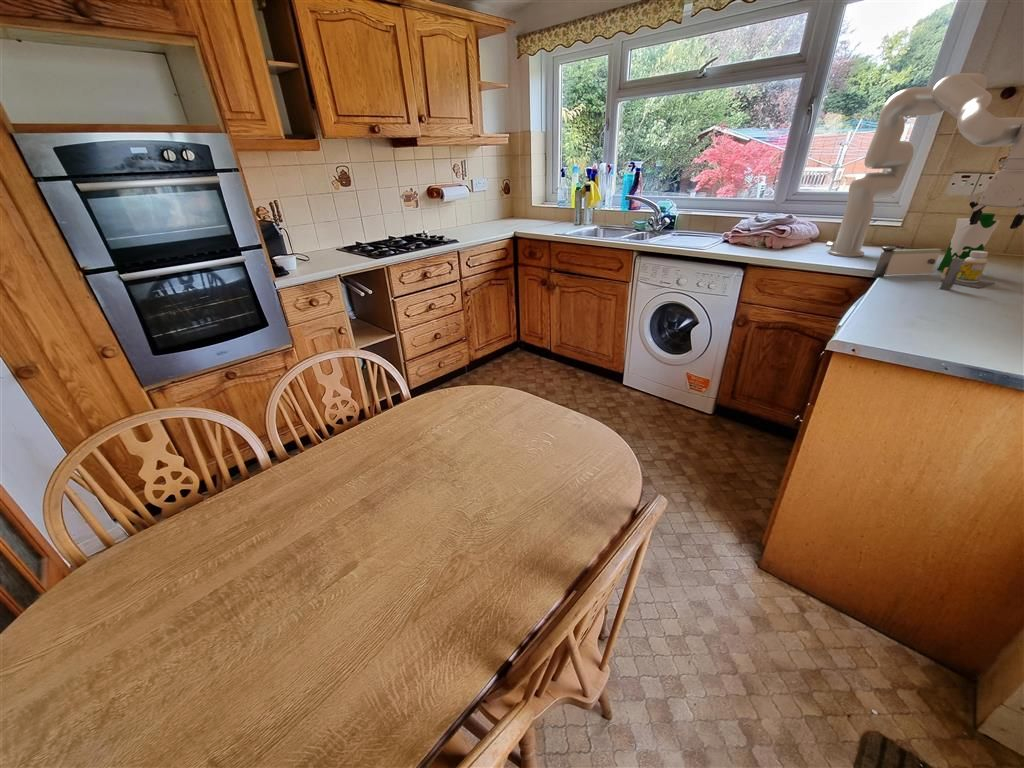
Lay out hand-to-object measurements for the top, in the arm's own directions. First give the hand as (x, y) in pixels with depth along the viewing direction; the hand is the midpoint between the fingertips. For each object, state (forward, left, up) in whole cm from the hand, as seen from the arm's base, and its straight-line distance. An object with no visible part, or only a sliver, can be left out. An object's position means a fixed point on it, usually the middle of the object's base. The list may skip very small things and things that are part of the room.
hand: (992, 226), depth 135 cm
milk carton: (-9, +13, -18) cm, 24 cm away
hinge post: (-19, -14, -18) cm, 30 cm away
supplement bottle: (0, 0, -18) cm, 18 cm away
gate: (-14, -5, -17) cm, 23 cm away
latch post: (+1, -14, -18) cm, 23 cm away
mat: (0, 0, -18) cm, 18 cm away
